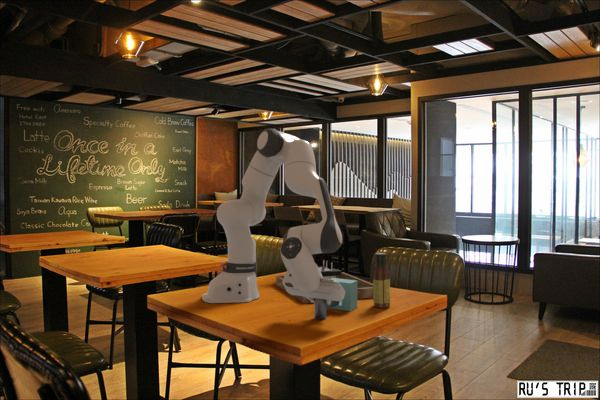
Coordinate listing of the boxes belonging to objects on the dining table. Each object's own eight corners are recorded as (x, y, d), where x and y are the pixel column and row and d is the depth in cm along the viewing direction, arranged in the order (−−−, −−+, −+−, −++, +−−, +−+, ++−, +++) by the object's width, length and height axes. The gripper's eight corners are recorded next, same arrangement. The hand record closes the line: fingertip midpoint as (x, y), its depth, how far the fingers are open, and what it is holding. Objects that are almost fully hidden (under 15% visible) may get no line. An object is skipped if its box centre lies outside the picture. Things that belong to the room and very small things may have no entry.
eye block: (350, 311, 172) (350, 283, 171) (325, 307, 177) (325, 280, 176) (357, 307, 177) (357, 280, 177) (332, 304, 182) (332, 277, 181)
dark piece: (323, 320, 159) (323, 287, 159) (312, 318, 161) (312, 286, 161) (342, 310, 173) (342, 279, 172) (332, 308, 175) (332, 278, 174)
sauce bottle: (388, 304, 183) (389, 252, 182) (391, 308, 176) (392, 254, 176) (371, 304, 182) (371, 252, 182) (374, 308, 176) (374, 254, 176)
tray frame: (304, 303, 183) (304, 292, 183) (275, 285, 216) (276, 276, 216) (381, 297, 194) (381, 287, 194) (343, 280, 228) (343, 272, 228)
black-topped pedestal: (366, 298, 194) (367, 265, 193) (306, 303, 184) (306, 268, 184) (337, 284, 220) (337, 255, 219) (282, 288, 211) (283, 258, 210)
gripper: (340, 272, 150) (352, 297, 159) (284, 266, 160) (298, 290, 169) (334, 289, 147) (347, 314, 155) (277, 282, 157) (292, 305, 165)
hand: (321, 301), depth 162 cm, fingers closed on dark piece, 4 cm apart
